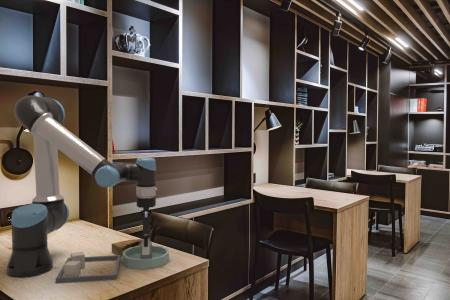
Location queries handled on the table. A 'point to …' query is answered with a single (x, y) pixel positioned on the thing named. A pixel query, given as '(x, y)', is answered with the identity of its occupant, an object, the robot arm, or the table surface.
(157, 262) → the bowl
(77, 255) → the pale grey block
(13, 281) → the table surface
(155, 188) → the robot arm
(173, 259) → the table surface
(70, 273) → the light grey block
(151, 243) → the grey square pillar
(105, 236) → the table surface
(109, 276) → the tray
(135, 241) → the stone
